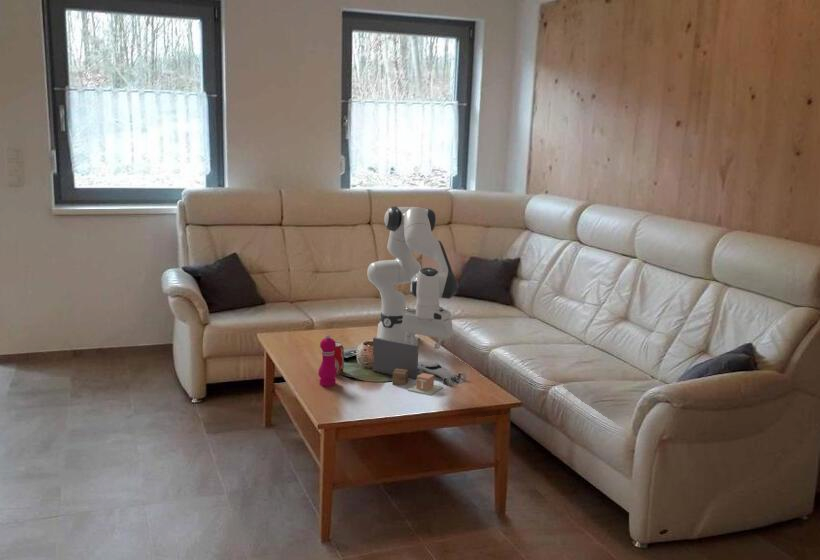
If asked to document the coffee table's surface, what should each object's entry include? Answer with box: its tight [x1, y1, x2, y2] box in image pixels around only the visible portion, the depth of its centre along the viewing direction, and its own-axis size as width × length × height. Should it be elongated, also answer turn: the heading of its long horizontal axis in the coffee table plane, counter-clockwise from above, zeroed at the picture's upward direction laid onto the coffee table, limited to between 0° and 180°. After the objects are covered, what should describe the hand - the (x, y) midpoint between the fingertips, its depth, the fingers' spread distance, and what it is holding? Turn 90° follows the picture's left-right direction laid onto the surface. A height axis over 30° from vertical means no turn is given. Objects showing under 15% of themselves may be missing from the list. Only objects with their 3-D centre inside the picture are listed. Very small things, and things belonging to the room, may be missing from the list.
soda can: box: [333, 341, 345, 375], centre depth 313 cm, size 7×7×12 cm
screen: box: [371, 336, 420, 381], centre depth 313 cm, size 4×20×14 cm, turn 63°
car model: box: [418, 360, 467, 387], centre depth 313 cm, size 11×24×5 cm, turn 45°
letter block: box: [415, 373, 435, 391], centre depth 297 cm, size 5×5×5 cm
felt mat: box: [407, 384, 443, 396], centre depth 298 cm, size 10×10×1 cm
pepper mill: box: [317, 334, 338, 387], centre depth 298 cm, size 7×7×20 cm
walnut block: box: [391, 369, 409, 387], centre depth 303 cm, size 5×5×5 cm
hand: (426, 346), depth 295 cm, fingers open, 8 cm apart
